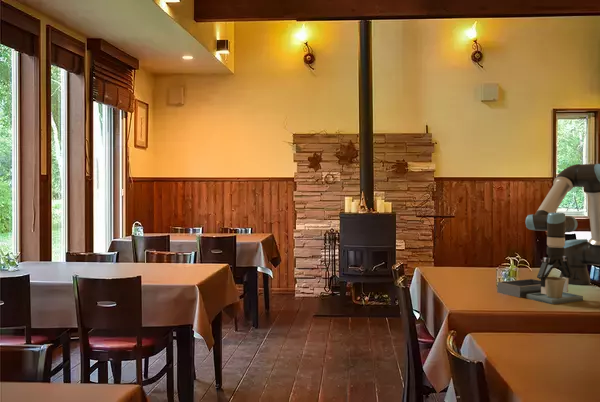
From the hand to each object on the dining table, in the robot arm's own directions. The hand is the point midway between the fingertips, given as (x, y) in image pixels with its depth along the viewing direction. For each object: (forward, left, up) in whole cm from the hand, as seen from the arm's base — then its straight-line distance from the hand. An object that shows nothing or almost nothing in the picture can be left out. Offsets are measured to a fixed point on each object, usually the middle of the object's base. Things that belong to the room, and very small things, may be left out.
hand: (554, 292), depth 260 cm
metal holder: (0, -16, -3) cm, 17 cm away
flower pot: (0, 0, -2) cm, 2 cm away
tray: (0, 0, -3) cm, 3 cm away
